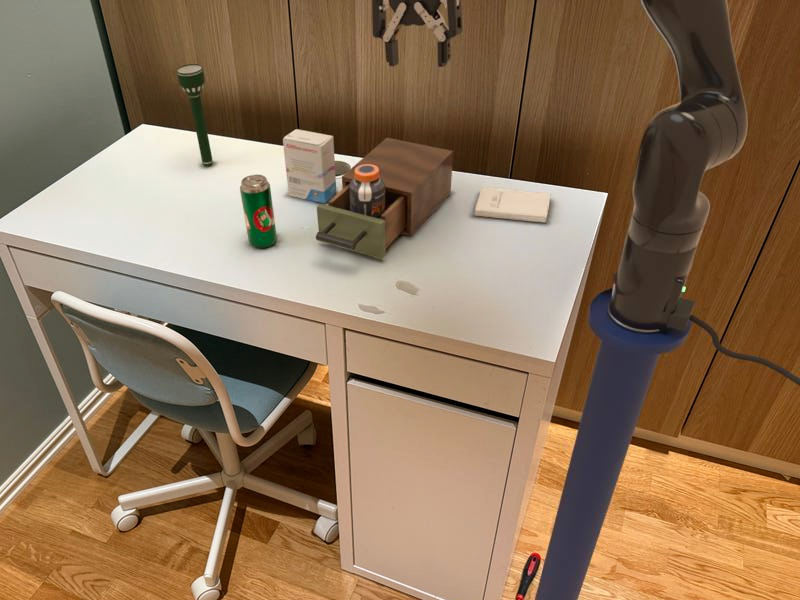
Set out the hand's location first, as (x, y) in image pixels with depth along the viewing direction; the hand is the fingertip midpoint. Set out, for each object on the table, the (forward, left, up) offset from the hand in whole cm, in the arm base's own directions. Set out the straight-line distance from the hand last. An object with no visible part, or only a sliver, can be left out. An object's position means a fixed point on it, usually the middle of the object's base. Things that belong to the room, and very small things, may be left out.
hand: (417, 65), depth 114 cm
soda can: (+19, +22, -26) cm, 39 cm away
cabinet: (+3, +1, -26) cm, 26 cm away
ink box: (+20, +4, -26) cm, 33 cm away
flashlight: (+47, +3, -26) cm, 54 cm away
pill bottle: (+3, +13, -24) cm, 27 cm away
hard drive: (-16, -7, -26) cm, 31 cm away
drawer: (+3, +13, -25) cm, 28 cm away
